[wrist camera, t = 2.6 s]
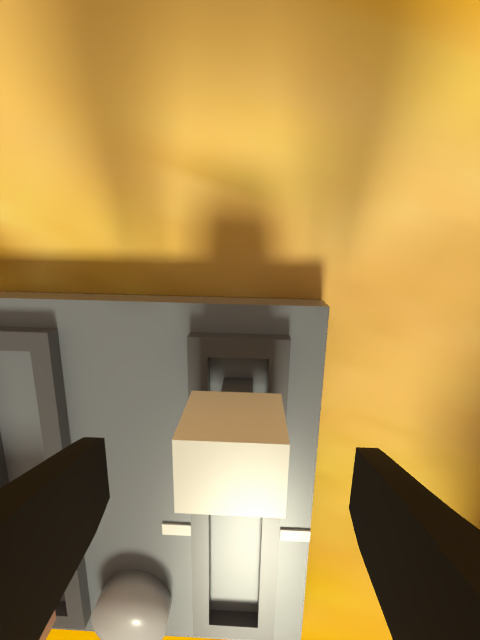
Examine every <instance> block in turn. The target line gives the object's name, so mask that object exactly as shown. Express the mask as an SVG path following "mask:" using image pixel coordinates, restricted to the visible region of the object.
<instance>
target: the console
mask: <svg viewBox="0 0 480 640" xmlns="http://www.w3.org/2000/svg"><path fill="white" fill-rule="evenodd" d="M328 316H329V306H328V305H327V304H326V303H325V302H324V301H323V300H318V299H279V298H240V297H201V296H163V295H124V294H85V293H46V292H7V291H0V488H1V487H2V486H4V485H6V484H8V483H9V482H11V481H13V480H14V479H16V478H17V477H19V476H21V475H22V474H24V473H25V472H27V471H29V470H30V469H32V468H33V467H35V466H37V465H38V464H40V463H42V462H43V461H45V460H46V459H48V458H49V457H51V456H53V455H54V454H56V453H57V452H59V451H61V450H62V449H64V448H65V447H67V446H69V445H70V444H72V443H74V442H75V441H77V440H79V439H81V438H83V437H98V438H105V449H106V460H107V470H108V481H109V492H110V499H109V501H108V504H107V507H106V509H105V512H104V514H103V517H102V519H101V522H100V524H99V527H98V529H97V532H96V534H95V536H94V538H93V540H92V542H91V544H90V546H89V547H88V549H87V551H86V553H85V555H84V557H83V559H82V561H81V562H80V564H79V566H78V568H77V570H76V572H75V574H74V575H73V577H72V579H71V581H70V583H69V585H68V587H67V588H66V590H65V592H64V594H63V596H62V598H61V600H60V601H59V603H58V605H57V607H56V609H55V613H56V621H55V623H54V625H53V626H52V628H51V629H66V630H82V631H95V633H96V634H97V635H98V637H99V638H100V639H101V640H162V639H163V637H164V636H180V637H196V638H212V639H229V640H301V632H302V620H303V608H304V597H305V585H306V573H307V562H308V550H309V542H310V532H311V531H310V527H311V515H312V503H313V492H314V480H315V468H316V457H317V445H318V433H319V421H320V410H321V398H322V386H323V375H324V363H325V351H326V340H327V328H328ZM224 378H251V379H253V393H275V394H281V395H282V401H283V407H284V413H285V419H286V424H287V430H288V436H289V442H290V453H289V469H288V485H287V501H286V517H285V518H267V517H247V516H226V515H205V514H185V513H174V485H173V456H172V438H173V436H174V434H175V431H176V429H177V426H178V424H179V421H180V419H181V416H182V414H183V411H184V409H185V406H186V404H187V401H188V399H189V396H190V394H191V391H218V392H221V390H222V385H223V380H224Z"/></svg>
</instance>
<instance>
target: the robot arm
mask: <svg viewBox="0 0 480 640" xmlns="http://www.w3.org/2000/svg"><path fill="white" fill-rule="evenodd" d="M109 499H110V492H109V481H108V470H107V460H106V449H105V438H98V437H83V438H81V439H79V440H77V441H75V442H74V443H72V444H70V445H69V446H67V447H65V448H64V449H62V450H61V451H59V452H57V453H56V454H54V455H53V456H51V457H49V458H48V459H46V460H45V461H43V462H42V463H40V464H38V465H37V466H35V467H33V468H32V469H30V470H29V471H27V472H25V473H24V474H22V475H21V476H19V477H17V478H16V479H14V480H13V481H11V482H9V483H8V484H6V485H4V486H2V487H1V488H0V640H39V639H40V637H41V635H42V633H43V631H44V629H45V627H46V625H47V624H48V622H49V620H50V618H51V616H52V614H53V612H54V611H55V609H56V607H57V605H58V603H59V601H60V600H61V598H62V596H63V594H64V592H65V590H66V588H67V587H68V585H69V583H70V581H71V579H72V577H73V575H74V574H75V572H76V570H77V568H78V566H79V564H80V562H81V561H82V559H83V557H84V555H85V553H86V551H87V549H88V547H89V546H90V544H91V542H92V540H93V538H94V536H95V534H96V532H97V529H98V527H99V524H100V522H101V519H102V517H103V514H104V512H105V509H106V507H107V504H108V501H109ZM349 510H350V514H351V518H352V522H353V527H354V531H355V534H356V538H357V542H358V546H359V549H360V552H361V555H362V557H363V560H364V563H365V566H366V568H367V571H368V574H369V576H370V579H371V582H372V585H373V587H374V590H375V593H376V595H377V598H378V601H379V603H380V606H381V609H382V611H383V614H384V617H385V619H386V622H387V625H388V627H389V630H390V633H391V636H392V638H393V640H480V530H479V529H478V528H476V527H475V526H474V525H472V524H471V523H470V522H468V521H467V520H466V519H464V518H463V517H462V516H460V515H459V514H458V513H456V512H455V511H454V510H453V509H451V508H450V507H449V506H448V505H446V504H445V503H444V502H443V501H441V500H440V499H439V498H438V497H436V496H435V495H434V494H433V493H432V492H430V491H429V490H428V489H427V488H425V487H424V486H423V485H422V484H421V483H419V482H418V481H417V480H416V479H415V478H414V477H412V476H411V475H410V474H409V473H408V472H406V471H405V470H404V469H403V468H402V467H401V466H399V465H398V464H397V463H396V462H395V461H393V460H392V459H391V458H390V457H389V456H387V455H386V454H385V453H384V452H382V451H381V450H380V449H379V448H358V447H356V454H355V462H354V471H353V479H352V488H351V496H350V504H349Z"/></svg>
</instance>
